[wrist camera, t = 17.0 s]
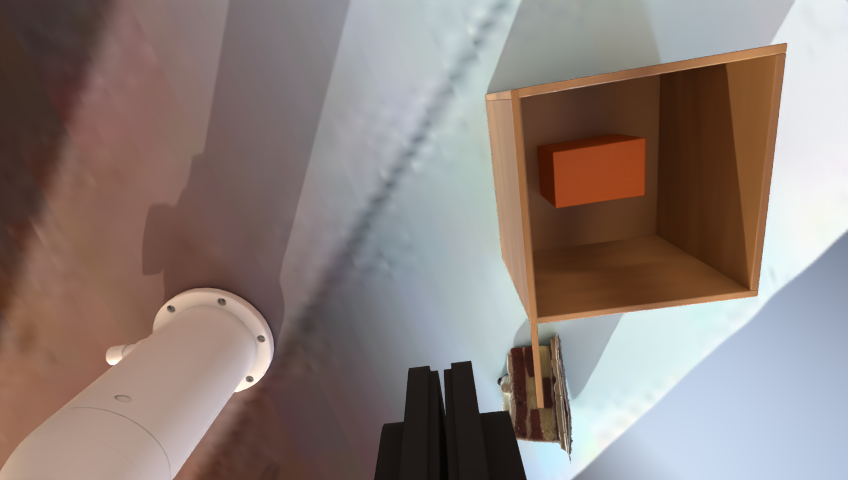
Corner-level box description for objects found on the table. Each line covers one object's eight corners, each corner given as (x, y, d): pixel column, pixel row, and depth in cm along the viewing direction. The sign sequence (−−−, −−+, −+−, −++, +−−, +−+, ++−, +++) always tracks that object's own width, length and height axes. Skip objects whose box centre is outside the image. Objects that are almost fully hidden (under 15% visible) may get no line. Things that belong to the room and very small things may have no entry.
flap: (535, 329, 27) (530, 329, 27) (515, 89, 22) (510, 90, 22) (543, 408, 20) (537, 408, 20) (518, 89, 15) (510, 90, 15)
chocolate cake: (489, 331, 43) (489, 458, 38) (558, 329, 40) (569, 466, 35) (507, 347, 51) (509, 454, 45) (565, 347, 48) (575, 460, 43)
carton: (502, 258, 39) (531, 324, 28) (485, 94, 35) (511, 89, 23) (658, 237, 38) (758, 296, 26) (663, 64, 33) (787, 42, 22)
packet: (540, 195, 37) (555, 208, 32) (536, 146, 35) (552, 152, 31) (617, 183, 36) (645, 195, 32) (617, 133, 35) (646, 137, 30)
